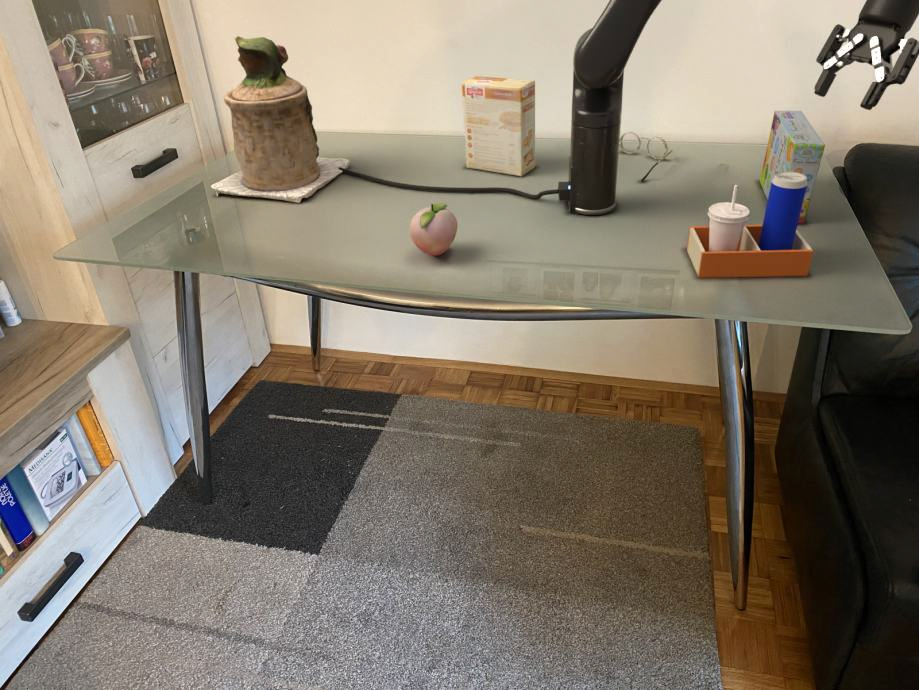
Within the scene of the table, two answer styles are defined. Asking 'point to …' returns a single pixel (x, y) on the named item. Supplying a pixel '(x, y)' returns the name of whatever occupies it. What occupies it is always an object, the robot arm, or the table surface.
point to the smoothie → (726, 224)
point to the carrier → (747, 256)
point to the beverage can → (783, 211)
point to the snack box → (792, 152)
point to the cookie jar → (273, 130)
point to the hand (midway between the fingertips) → (841, 101)
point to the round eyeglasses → (648, 150)
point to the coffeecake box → (499, 124)
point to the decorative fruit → (433, 229)
